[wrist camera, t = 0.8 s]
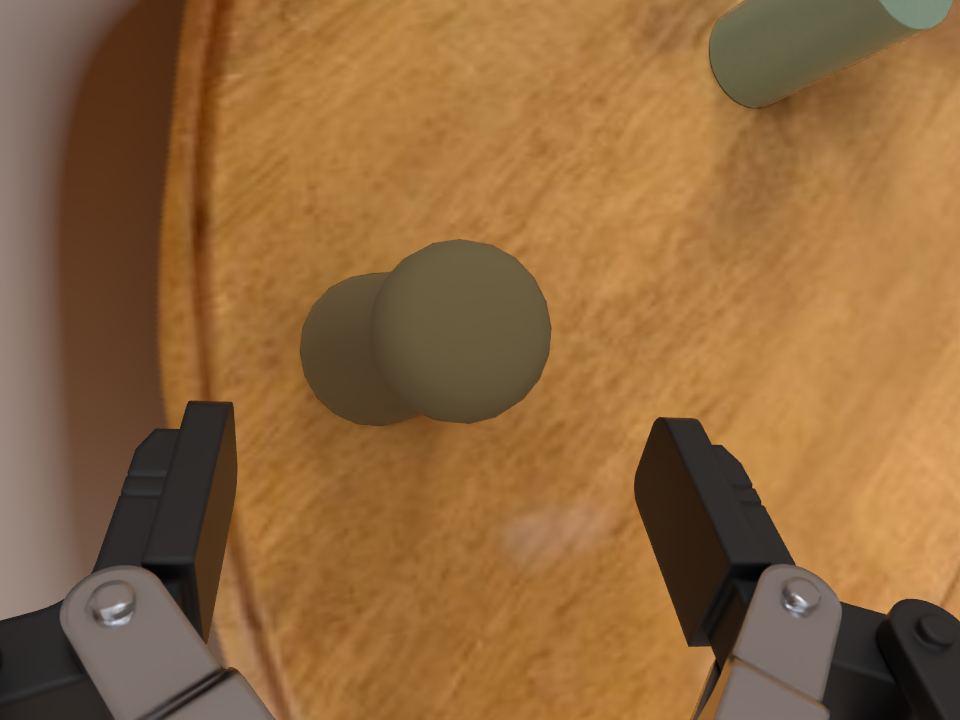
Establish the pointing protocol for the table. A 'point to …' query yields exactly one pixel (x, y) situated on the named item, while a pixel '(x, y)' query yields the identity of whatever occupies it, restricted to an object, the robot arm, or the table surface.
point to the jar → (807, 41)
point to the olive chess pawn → (429, 338)
